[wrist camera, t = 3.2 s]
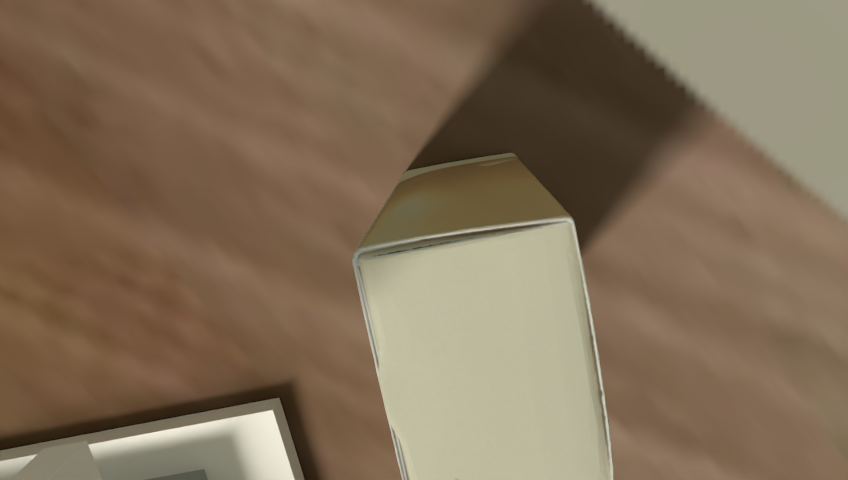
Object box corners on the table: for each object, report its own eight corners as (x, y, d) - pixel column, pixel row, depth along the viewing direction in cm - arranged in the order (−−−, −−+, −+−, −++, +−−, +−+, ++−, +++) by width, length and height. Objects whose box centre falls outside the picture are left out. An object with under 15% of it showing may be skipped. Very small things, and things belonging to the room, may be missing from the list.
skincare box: (541, 305, 25) (625, 518, 13) (430, 324, 25) (413, 547, 13) (514, 140, 23) (583, 210, 11) (397, 163, 24) (345, 253, 12)
